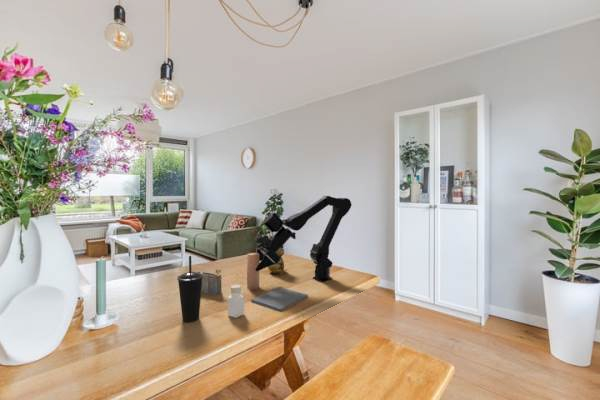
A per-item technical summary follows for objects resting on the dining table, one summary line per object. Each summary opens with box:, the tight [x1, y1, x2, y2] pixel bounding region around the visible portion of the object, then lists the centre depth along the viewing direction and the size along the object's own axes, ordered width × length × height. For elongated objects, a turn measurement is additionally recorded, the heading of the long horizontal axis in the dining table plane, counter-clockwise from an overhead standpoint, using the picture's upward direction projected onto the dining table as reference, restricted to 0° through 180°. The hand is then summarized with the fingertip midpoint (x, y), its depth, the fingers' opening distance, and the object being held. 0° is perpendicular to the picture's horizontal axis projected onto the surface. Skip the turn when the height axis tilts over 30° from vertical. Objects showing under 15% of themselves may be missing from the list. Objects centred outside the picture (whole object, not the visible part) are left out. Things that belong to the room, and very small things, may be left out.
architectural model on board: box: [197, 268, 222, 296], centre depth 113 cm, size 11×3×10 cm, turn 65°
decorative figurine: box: [267, 247, 285, 275], centre depth 139 cm, size 10×8×15 cm
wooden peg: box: [246, 252, 260, 291], centre depth 117 cm, size 5×5×14 cm
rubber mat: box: [251, 286, 309, 312], centre depth 106 cm, size 16×14×1 cm
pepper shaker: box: [227, 284, 245, 319], centre depth 92 cm, size 4×4×10 cm
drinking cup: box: [176, 255, 203, 323], centre depth 89 cm, size 8×8×20 cm
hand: (253, 267), depth 117 cm, fingers open, 9 cm apart
